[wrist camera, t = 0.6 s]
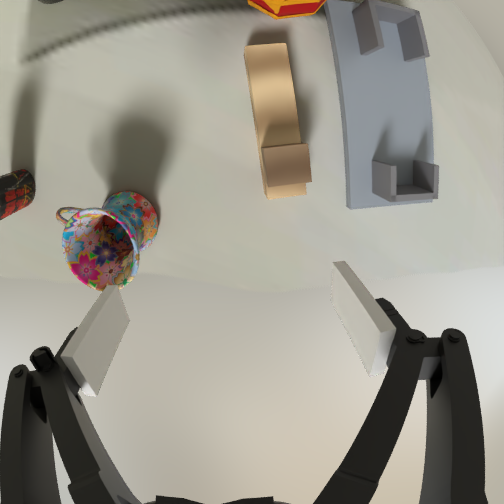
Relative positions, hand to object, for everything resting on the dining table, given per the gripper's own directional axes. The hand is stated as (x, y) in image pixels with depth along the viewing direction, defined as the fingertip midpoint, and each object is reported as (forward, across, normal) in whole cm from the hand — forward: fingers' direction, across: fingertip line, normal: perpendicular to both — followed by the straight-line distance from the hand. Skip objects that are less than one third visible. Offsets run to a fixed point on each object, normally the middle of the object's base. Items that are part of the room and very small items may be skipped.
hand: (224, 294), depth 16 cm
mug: (+21, -15, +1) cm, 26 cm away
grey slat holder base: (+21, +22, +13) cm, 33 cm away
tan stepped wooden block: (+21, +6, +10) cm, 24 cm away
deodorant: (+21, -32, +8) cm, 39 cm away
